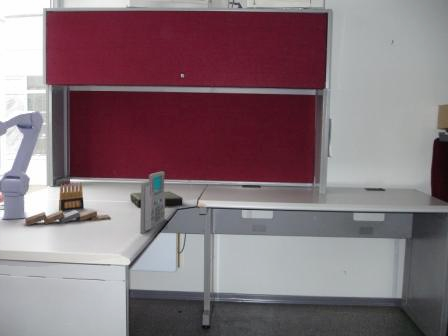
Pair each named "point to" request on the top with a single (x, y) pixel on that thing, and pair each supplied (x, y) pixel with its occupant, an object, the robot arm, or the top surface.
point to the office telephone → (152, 201)
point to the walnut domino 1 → (35, 218)
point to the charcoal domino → (69, 216)
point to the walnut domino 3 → (87, 215)
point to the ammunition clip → (71, 198)
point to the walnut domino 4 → (100, 217)
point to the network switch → (170, 199)
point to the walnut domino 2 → (54, 217)
